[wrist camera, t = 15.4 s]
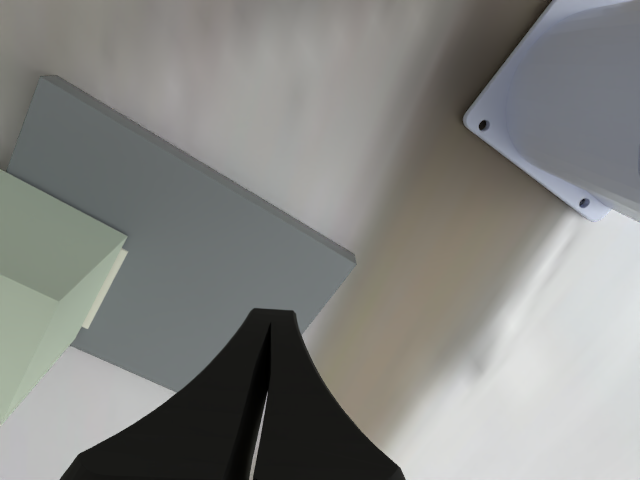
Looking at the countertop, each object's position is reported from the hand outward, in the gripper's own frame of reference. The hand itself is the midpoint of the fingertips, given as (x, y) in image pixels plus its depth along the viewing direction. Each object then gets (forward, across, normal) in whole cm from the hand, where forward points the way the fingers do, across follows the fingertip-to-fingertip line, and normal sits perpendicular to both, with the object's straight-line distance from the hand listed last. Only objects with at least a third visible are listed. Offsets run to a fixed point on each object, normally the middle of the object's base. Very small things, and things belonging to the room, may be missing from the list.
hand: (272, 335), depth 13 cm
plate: (+9, +7, +3) cm, 12 cm away
